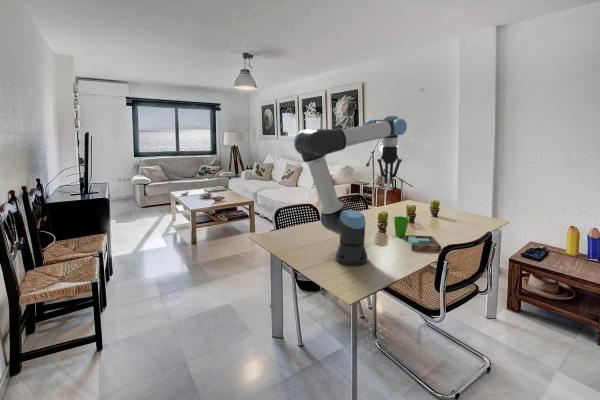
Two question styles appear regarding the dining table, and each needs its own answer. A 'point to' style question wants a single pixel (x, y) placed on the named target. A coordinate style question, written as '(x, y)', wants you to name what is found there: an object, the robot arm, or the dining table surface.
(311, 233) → the dining table surface
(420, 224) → the dining table surface
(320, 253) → the dining table surface
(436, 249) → the corral
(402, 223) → the cup
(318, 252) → the dining table surface
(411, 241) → the tee
